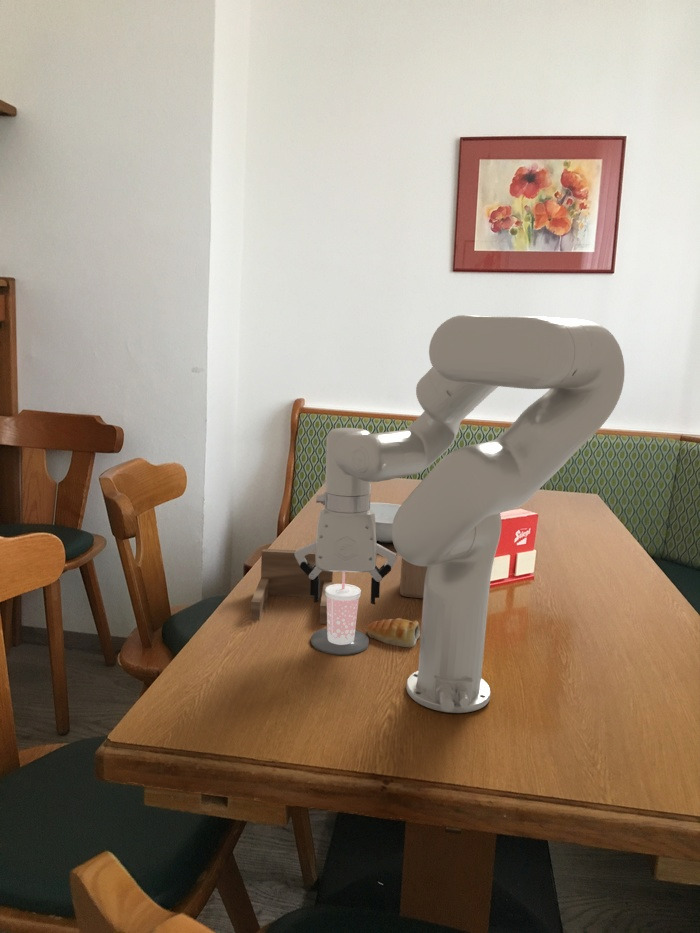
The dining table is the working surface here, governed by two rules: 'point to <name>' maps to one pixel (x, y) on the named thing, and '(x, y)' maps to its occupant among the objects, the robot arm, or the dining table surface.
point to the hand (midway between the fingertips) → (344, 600)
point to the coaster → (322, 644)
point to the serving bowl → (384, 520)
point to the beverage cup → (342, 612)
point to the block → (412, 579)
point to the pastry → (395, 631)
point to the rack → (287, 580)
